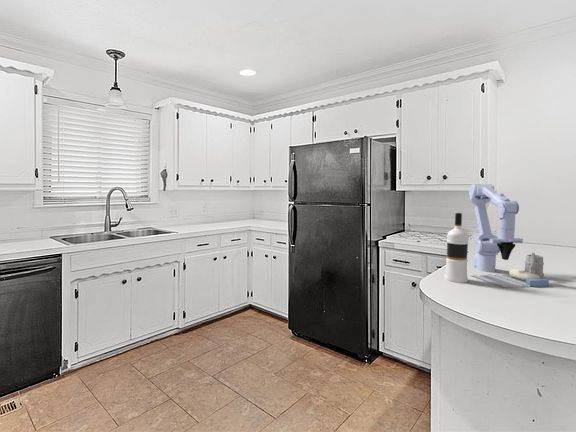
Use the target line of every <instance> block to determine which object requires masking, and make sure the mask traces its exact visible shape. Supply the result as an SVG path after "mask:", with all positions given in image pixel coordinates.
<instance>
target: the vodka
mask: <svg viewBox="0 0 576 432" xmlns="http://www.w3.org/2000/svg"><path fill="white" fill-rule="evenodd" d="M454 215H455V218H454V227H453V228H452V229H451V230H449V231H448V232H447V233H446V242H447V244H446V258H445V261H446V262H445V263H446V264H445V265H446V266H445V272H444V275H443V279H444V280H445V281H446V282H450V283H451V282H452V283H457V284H458V283H459V284H463V283H464V284H465V283H468V282H469V278H468V261H469V260H468V253H469V251H468V249H469V239H470V237H469V236H470V235H469V233H468V232H467V231H466V230H464V229H463V228H462V227H463V226H462V223H463V222H462V221H463V213H462V212H455V214H454Z"/></svg>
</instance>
